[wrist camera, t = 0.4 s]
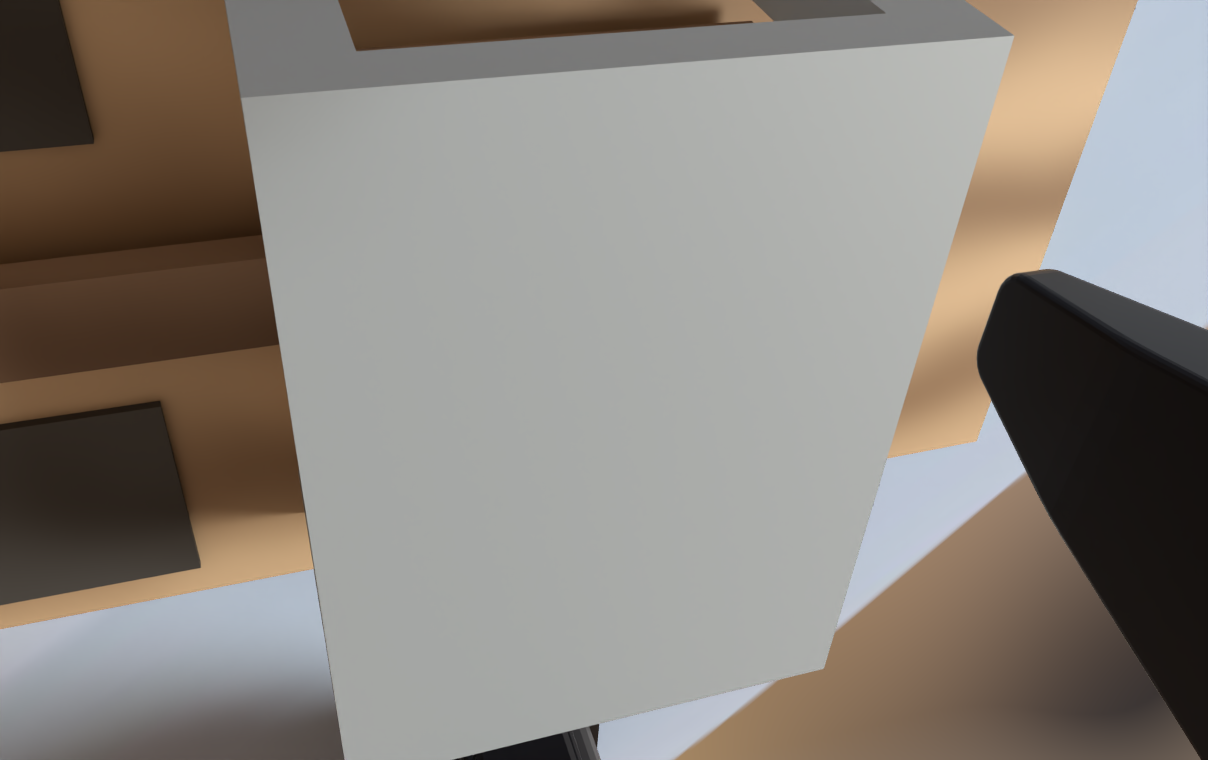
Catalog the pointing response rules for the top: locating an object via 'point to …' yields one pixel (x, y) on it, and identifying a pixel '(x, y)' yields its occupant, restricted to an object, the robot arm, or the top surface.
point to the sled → (147, 299)
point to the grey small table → (598, 343)
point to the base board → (229, 210)
